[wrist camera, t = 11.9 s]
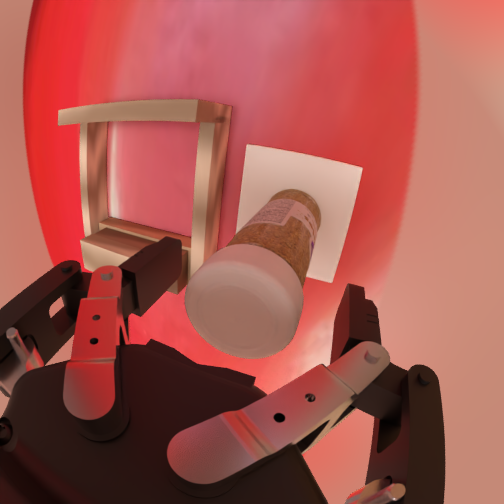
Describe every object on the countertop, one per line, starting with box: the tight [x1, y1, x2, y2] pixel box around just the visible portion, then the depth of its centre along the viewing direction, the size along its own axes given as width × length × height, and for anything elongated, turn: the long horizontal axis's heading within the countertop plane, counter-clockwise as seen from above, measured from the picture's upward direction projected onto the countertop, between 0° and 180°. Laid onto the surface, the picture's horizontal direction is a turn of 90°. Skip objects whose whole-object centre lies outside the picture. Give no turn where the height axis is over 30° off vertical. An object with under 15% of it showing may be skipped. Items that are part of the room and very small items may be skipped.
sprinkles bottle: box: [185, 189, 321, 359], centre depth 16 cm, size 5×5×14 cm
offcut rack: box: [58, 99, 232, 295], centre depth 23 cm, size 16×15×6 cm
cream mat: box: [236, 144, 363, 283], centre depth 22 cm, size 10×9×1 cm
